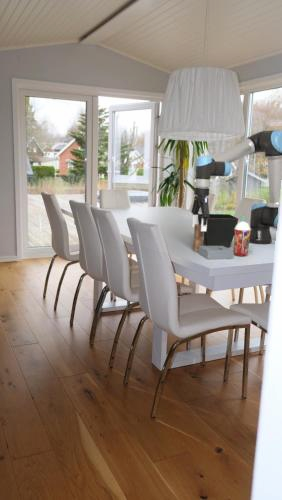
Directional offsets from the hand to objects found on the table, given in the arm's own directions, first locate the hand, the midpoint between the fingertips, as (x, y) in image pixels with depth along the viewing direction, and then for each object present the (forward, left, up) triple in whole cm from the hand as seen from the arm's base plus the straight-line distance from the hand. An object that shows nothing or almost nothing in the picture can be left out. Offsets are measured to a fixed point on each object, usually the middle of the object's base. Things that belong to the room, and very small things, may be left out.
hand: (198, 229), depth 230 cm
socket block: (-5, +11, -12) cm, 17 cm away
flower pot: (-16, -16, -12) cm, 26 cm away
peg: (0, 0, -12) cm, 12 cm away
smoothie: (-20, +10, -12) cm, 25 cm away
